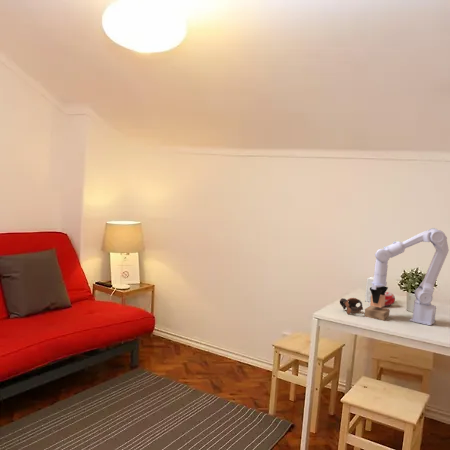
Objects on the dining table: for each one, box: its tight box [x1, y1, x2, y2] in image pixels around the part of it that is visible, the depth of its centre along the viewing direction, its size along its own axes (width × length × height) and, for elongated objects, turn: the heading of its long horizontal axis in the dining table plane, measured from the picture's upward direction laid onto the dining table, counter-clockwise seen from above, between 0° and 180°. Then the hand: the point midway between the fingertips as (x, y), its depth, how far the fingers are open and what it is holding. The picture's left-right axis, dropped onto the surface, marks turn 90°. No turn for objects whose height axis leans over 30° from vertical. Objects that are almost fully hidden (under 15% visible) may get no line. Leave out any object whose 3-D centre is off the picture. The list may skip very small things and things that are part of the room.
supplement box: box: [364, 276, 374, 303], centre depth 257 cm, size 7×7×13 cm
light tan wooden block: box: [364, 305, 391, 321], centre depth 227 cm, size 9×9×4 cm
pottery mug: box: [339, 297, 364, 315], centre depth 232 cm, size 12×10×8 cm
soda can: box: [369, 291, 396, 307], centre depth 249 cm, size 7×7×12 cm
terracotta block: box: [370, 295, 385, 308], centre depth 227 cm, size 5×5×5 cm
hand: (377, 302), depth 228 cm, fingers closed on terracotta block, 5 cm apart
